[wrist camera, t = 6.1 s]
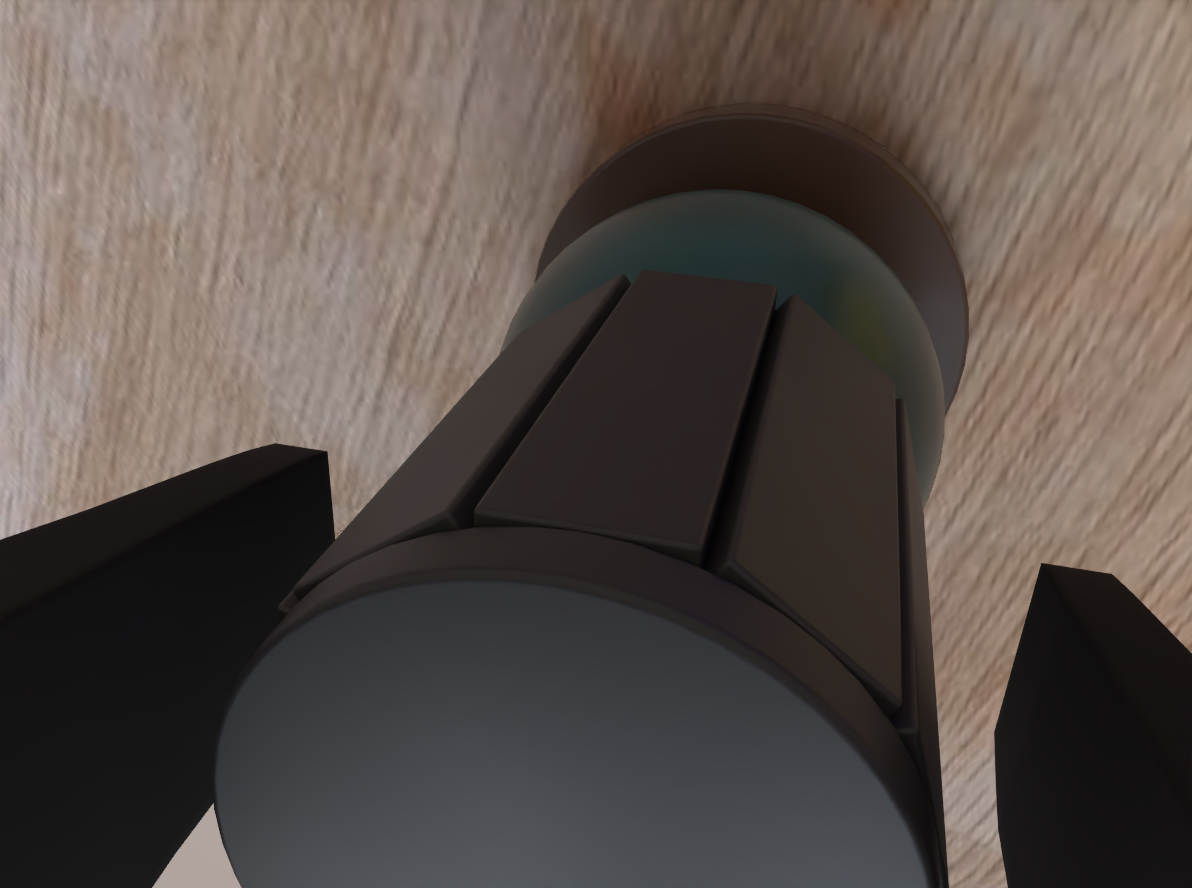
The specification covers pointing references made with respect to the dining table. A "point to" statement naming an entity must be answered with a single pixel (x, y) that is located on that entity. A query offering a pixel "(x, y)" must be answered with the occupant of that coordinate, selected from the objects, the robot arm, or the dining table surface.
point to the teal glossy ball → (779, 240)
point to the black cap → (614, 627)
